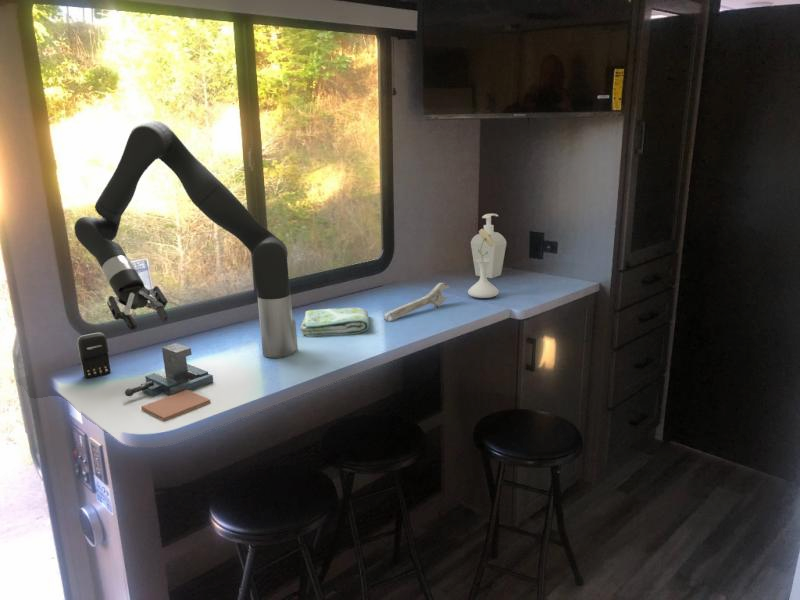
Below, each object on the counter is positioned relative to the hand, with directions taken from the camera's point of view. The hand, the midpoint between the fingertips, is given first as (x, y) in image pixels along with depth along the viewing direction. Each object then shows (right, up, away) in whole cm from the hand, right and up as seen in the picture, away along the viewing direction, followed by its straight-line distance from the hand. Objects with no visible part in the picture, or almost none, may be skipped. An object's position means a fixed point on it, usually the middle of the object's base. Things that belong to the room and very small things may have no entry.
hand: (150, 324), depth 165 cm
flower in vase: (+97, +8, +70) cm, 119 cm away
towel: (+45, -3, +39) cm, 60 cm away
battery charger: (-16, -14, +4) cm, 22 cm away
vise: (+6, -16, -6) cm, 18 cm away
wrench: (+72, +2, +52) cm, 89 cm away
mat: (+13, -19, -16) cm, 28 cm away
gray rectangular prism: (+9, -15, -3) cm, 18 cm away
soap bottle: (+104, +17, +102) cm, 146 cm away
